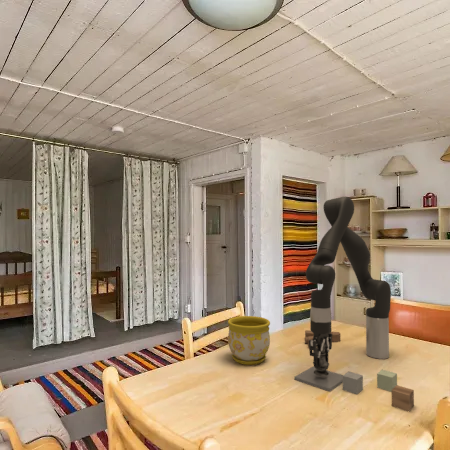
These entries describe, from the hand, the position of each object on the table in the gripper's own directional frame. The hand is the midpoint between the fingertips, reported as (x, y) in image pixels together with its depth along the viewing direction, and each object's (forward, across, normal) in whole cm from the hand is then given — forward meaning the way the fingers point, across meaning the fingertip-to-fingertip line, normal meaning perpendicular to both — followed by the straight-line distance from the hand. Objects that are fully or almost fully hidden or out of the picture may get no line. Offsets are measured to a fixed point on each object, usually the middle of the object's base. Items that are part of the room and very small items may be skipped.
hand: (321, 364), depth 128 cm
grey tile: (+5, 0, 0) cm, 5 cm away
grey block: (+6, 0, +12) cm, 13 cm away
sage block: (+6, -10, +20) cm, 23 cm away
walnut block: (+6, 0, +28) cm, 29 cm away
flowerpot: (+6, +3, -32) cm, 33 cm away
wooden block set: (+6, -38, -18) cm, 42 cm away
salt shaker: (+3, 0, 0) cm, 3 cm away
